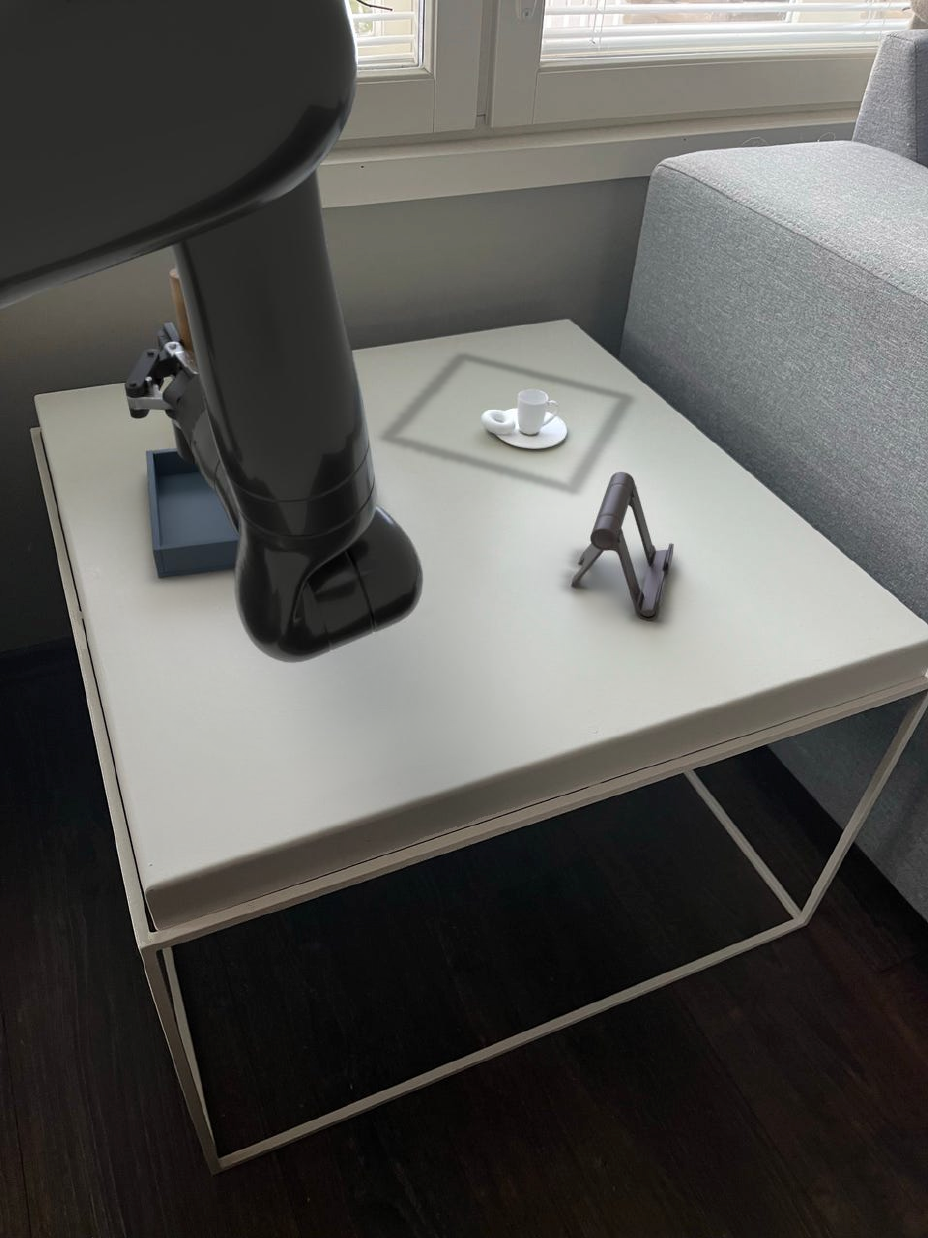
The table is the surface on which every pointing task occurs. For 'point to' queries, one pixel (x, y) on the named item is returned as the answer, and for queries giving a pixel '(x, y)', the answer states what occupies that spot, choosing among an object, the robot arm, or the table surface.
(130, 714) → the table surface
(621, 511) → the tablet stand
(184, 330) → the brush
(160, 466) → the tray
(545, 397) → the teacup and saucer
